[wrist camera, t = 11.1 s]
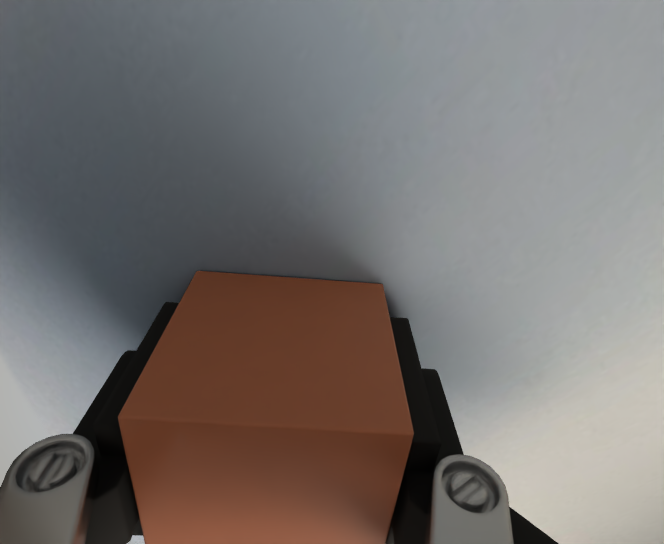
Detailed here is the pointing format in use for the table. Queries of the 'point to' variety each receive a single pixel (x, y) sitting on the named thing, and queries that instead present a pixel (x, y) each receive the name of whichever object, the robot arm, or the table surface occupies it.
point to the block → (269, 415)
